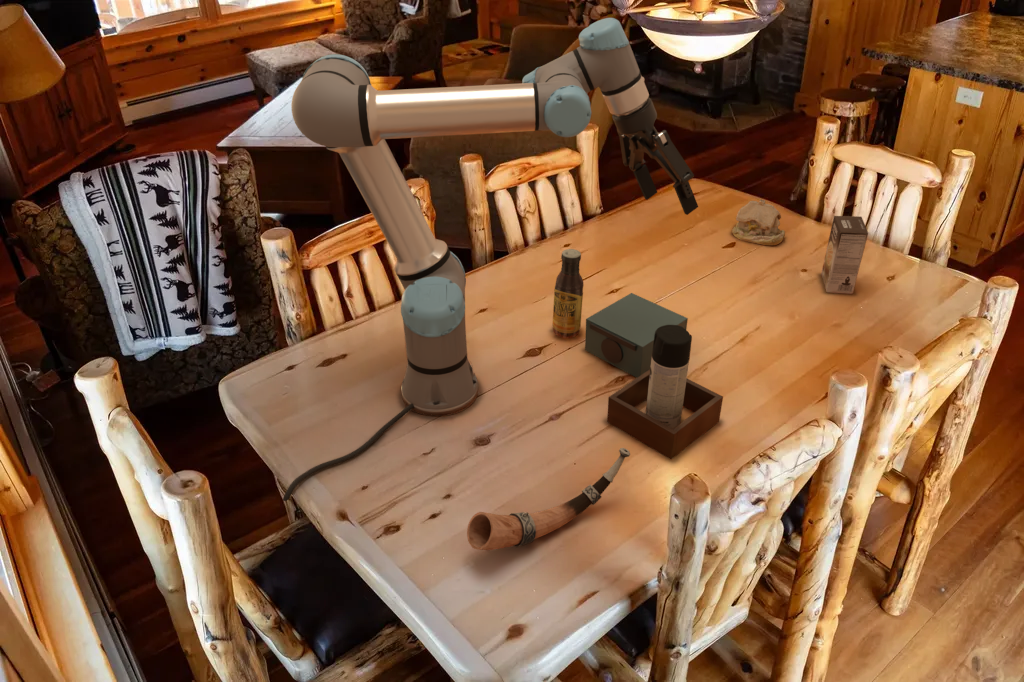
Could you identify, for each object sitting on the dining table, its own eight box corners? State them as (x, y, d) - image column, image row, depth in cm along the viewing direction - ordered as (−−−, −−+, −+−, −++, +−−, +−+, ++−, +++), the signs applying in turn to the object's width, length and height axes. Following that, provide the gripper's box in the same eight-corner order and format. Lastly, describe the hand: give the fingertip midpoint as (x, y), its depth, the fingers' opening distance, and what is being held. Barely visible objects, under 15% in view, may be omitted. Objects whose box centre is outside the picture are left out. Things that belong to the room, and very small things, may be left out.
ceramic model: (723, 235, 217) (728, 200, 211) (742, 220, 224) (748, 187, 218) (772, 249, 209) (779, 214, 203) (791, 234, 216) (797, 200, 210)
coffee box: (819, 274, 198) (833, 214, 189) (847, 275, 197) (861, 215, 188) (826, 293, 190) (840, 231, 181) (854, 294, 189) (869, 233, 181)
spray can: (669, 407, 156) (679, 320, 145) (687, 428, 150) (699, 339, 139) (638, 415, 154) (646, 327, 143) (656, 437, 148) (666, 347, 137)
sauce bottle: (547, 335, 177) (548, 255, 166) (559, 322, 182) (561, 243, 171) (574, 342, 175) (577, 262, 164) (586, 328, 179) (589, 249, 168)
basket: (671, 459, 143) (674, 434, 140) (606, 421, 152) (608, 396, 149) (719, 421, 152) (723, 396, 148) (655, 387, 161) (658, 363, 158)
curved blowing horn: (463, 553, 126) (459, 507, 121) (615, 481, 139) (618, 437, 133) (480, 577, 122) (478, 531, 117) (635, 501, 135) (640, 456, 129)
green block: (638, 380, 163) (641, 348, 159) (583, 351, 172) (584, 319, 168) (684, 349, 172) (687, 318, 167) (629, 323, 181) (631, 292, 176)
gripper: (687, 101, 134) (726, 205, 145) (611, 88, 155) (650, 180, 166) (652, 126, 133) (694, 229, 144) (580, 109, 154) (621, 200, 165)
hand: (670, 203), depth 155 cm, fingers open, 13 cm apart
